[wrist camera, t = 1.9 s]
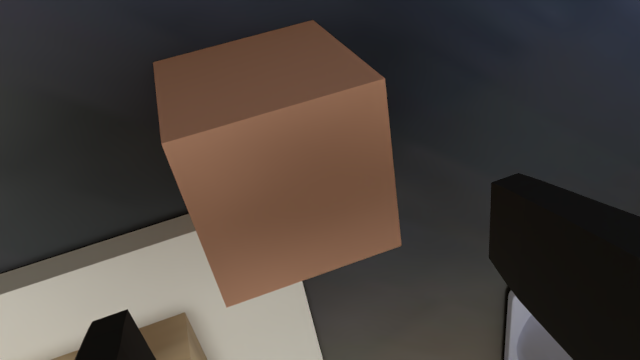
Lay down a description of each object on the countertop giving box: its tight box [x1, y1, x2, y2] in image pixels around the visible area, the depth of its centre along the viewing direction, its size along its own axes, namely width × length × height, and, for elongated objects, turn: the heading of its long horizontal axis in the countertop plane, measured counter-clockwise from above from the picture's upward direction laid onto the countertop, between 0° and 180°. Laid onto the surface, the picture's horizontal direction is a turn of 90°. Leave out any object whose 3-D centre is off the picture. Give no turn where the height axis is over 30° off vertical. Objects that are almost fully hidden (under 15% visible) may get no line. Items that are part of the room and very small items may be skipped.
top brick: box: [153, 20, 401, 308], centre depth 13 cm, size 4×4×5 cm
